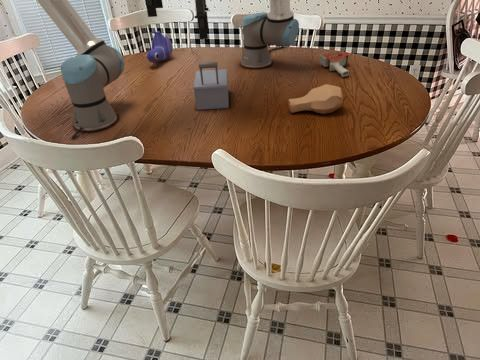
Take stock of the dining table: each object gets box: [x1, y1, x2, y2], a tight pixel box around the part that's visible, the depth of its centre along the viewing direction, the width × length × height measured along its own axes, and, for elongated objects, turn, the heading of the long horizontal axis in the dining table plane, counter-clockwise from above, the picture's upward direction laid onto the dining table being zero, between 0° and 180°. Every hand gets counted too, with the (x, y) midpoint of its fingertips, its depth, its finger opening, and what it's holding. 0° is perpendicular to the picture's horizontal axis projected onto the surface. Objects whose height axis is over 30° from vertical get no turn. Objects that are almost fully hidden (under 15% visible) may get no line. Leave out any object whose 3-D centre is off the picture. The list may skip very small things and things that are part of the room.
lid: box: [193, 61, 228, 90], centre depth 136 cm, size 18×12×9 cm
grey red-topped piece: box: [318, 51, 350, 78], centre depth 164 cm, size 18×5×20 cm
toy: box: [145, 30, 174, 68], centre depth 184 cm, size 10×17×25 cm
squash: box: [287, 83, 344, 115], centre depth 129 cm, size 11×20×9 cm, turn 92°
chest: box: [193, 79, 230, 111], centre depth 142 cm, size 17×12×9 cm
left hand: (156, 12), depth 117 cm, fingers open, 13 cm apart
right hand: (204, 35), depth 120 cm, fingers open, 8 cm apart
